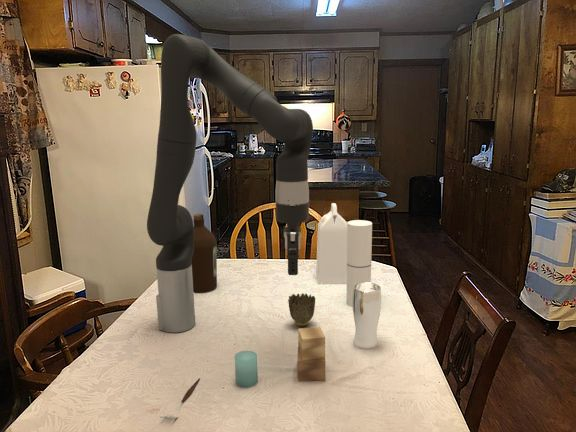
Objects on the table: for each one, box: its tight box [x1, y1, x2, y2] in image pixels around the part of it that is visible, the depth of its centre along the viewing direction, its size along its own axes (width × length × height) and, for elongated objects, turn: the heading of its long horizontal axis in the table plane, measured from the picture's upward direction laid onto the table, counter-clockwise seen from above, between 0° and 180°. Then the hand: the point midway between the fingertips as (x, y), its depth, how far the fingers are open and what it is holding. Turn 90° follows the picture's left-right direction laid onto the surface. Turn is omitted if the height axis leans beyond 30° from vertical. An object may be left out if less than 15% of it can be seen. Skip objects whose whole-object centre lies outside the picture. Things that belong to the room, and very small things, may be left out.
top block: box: [297, 326, 326, 361], centre depth 103 cm, size 5×5×5 cm
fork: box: [159, 378, 201, 420], centre depth 96 cm, size 3×16×2 cm, turn 167°
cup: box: [287, 293, 316, 328], centre depth 127 cm, size 8×7×8 cm
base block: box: [296, 348, 326, 382], centre depth 104 cm, size 6×6×5 cm
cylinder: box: [234, 350, 259, 388], centre depth 102 cm, size 5×5×6 cm
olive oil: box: [192, 213, 218, 294], centre depth 154 cm, size 11×11×25 cm
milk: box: [315, 202, 348, 285], centre depth 161 cm, size 12×12×26 cm
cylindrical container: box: [345, 219, 373, 308], centre depth 139 cm, size 7×7×25 cm
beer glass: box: [352, 282, 382, 350], centre depth 116 cm, size 7×7×15 cm
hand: (292, 268), depth 109 cm, fingers open, 8 cm apart
